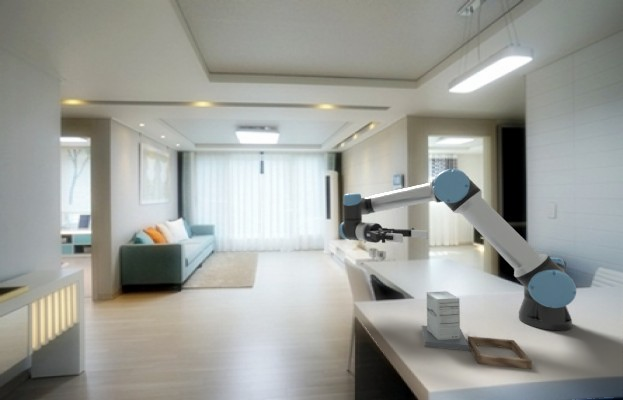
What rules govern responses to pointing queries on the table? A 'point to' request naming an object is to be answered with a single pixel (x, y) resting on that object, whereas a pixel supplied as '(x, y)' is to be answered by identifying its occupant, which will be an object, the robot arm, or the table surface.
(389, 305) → the table surface
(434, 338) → the slate trivet
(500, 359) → the walnut holder
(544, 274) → the robot arm
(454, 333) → the supplement box
